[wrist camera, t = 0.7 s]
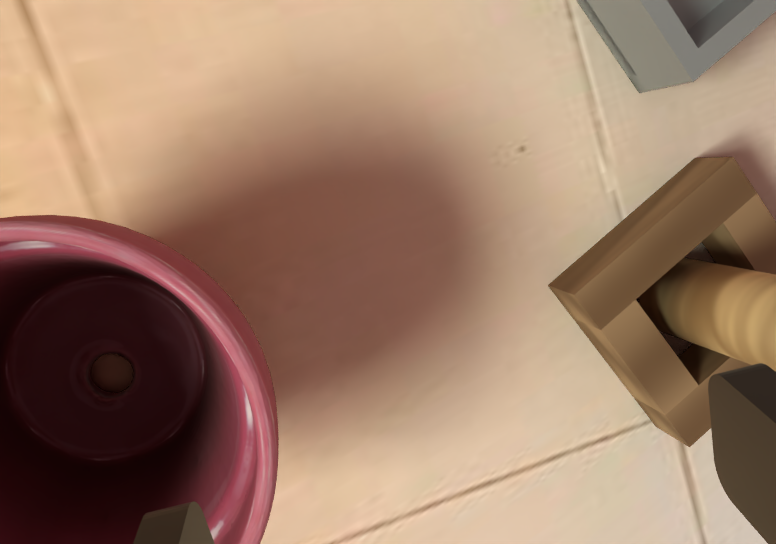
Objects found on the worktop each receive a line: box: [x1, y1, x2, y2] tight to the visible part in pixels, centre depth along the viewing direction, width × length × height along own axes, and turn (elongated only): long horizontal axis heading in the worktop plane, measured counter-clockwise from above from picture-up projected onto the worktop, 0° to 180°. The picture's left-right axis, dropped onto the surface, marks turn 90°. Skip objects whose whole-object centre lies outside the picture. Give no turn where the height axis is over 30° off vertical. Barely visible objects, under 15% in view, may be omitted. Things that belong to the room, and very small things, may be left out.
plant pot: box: [0, 215, 278, 544], centre depth 27 cm, size 14×14×13 cm
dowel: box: [640, 258, 776, 372], centre depth 32 cm, size 4×4×12 cm
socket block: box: [548, 157, 776, 447], centre depth 37 cm, size 10×10×3 cm
